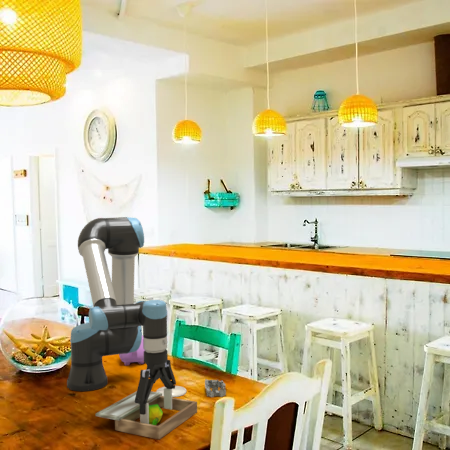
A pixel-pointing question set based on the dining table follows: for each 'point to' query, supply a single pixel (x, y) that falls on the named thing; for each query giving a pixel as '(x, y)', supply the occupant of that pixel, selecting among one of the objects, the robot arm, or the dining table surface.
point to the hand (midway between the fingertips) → (156, 416)
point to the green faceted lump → (154, 414)
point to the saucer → (174, 391)
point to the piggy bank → (134, 356)
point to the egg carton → (215, 388)
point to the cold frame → (130, 411)
